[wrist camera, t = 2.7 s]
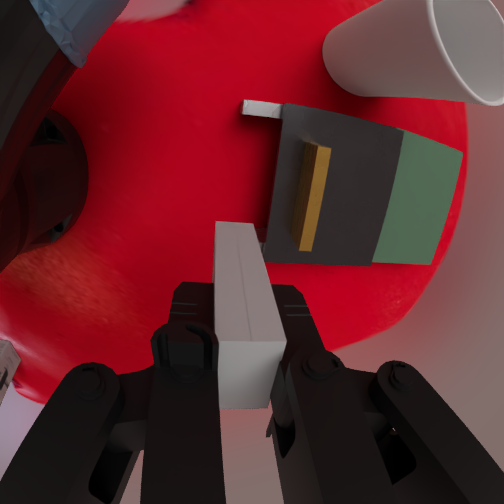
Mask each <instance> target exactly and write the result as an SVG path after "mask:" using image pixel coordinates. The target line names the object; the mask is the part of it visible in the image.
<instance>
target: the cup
mask: <svg viewBox="0 0 504 504" xmlns="http://www.w3.org/2000/svg"><path fill="white" fill-rule="evenodd" d="M322 54H323V61H324V64H325V67H326V69H327V71H328V73H329V74H330V76H331V77H332V79H333V80H334V81H335V82H336V83H337V84H338V85H339V86H340V87H341V88H343V89H344V90H346V91H348V92H350V93H352V94H354V95H358V96H364V97H414V98H429V99H441V100H451V101H459V102H467V103H475V104H481V105H487V106H499V105H501V104H503V103H504V20H503V18H502V17H501V15H500V13H499V12H498V10H497V9H496V7H495V6H494V5H493V3H492V2H491V1H490V0H383V1H381V2H379V3H377V4H375V5H373V6H371V7H369V8H368V9H366V10H364V11H362V12H360V13H358V14H357V15H355V16H353V17H351V18H349V19H348V20H346V21H344V22H343V23H341V24H339V25H338V26H336V27H334V28H333V29H332V30H331V31H330V32H329V33H328V34H327V36H326V38H325V40H324V43H323V48H322Z"/></svg>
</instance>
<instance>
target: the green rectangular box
mask: <svg viewBox="0 0 504 504" xmlns="http://www.w3.org/2000/svg"><path fill="white" fill-rule="evenodd" d="M389 127H391V126H389ZM392 128H395V129H398V130H402V129H399V128H396V127H392ZM402 131H404V135H403V141H402V146H401V152H400V157H399V162H398V166H397V171H396V175H395V180H394V184H393V188H392V193H391V197H390V201H389V205H388V208H387V212H386V216H385V220H384V223H383V227H382V230H381V234H380V237H379V240H378V244H377V247H376V250H375V253H374V257H373V260H372V262H382V263H405V264H429V265H430V264H431V262H432V259H433V256H434V254H435V251H436V248H437V245H438V243H439V240H440V237H441V234H442V231H443V228H444V225H445V222H446V218H447V215H448V212H449V208H450V205H451V201H452V198H453V194H454V190H455V187H456V183H457V178H458V174H459V170H460V165H461V161H462V156H463V153H462V152H460V151H458V150H456V149H453V148H451V147H448V146H446V145H443V144H441V143H438V142H436V141H433V140H431V139H428V138H425V137H423V136H420V135H417V134H414V133H411V132H408V131H405V130H402Z"/></svg>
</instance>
